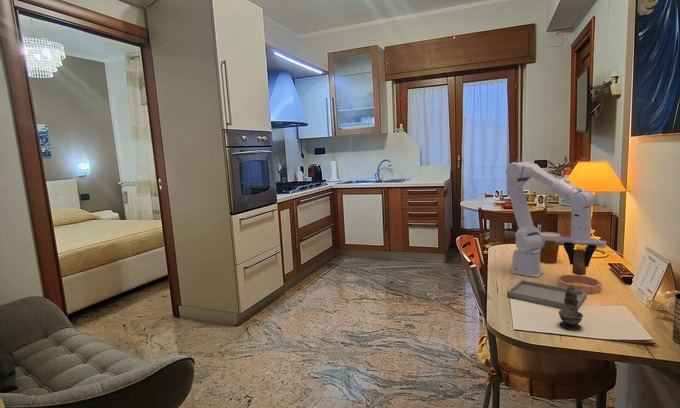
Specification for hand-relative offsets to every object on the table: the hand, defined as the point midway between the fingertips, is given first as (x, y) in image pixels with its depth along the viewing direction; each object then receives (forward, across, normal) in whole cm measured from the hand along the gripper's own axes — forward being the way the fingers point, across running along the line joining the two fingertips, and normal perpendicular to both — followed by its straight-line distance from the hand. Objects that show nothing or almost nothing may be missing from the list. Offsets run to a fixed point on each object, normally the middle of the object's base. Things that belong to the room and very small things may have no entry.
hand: (579, 265), depth 132 cm
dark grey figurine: (+8, +5, -34) cm, 35 cm away
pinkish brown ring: (+8, 0, 0) cm, 8 cm away
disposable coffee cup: (+8, -17, +27) cm, 33 cm away
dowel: (+3, 0, 0) cm, 3 cm away
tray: (+8, -6, -16) cm, 19 cm away
